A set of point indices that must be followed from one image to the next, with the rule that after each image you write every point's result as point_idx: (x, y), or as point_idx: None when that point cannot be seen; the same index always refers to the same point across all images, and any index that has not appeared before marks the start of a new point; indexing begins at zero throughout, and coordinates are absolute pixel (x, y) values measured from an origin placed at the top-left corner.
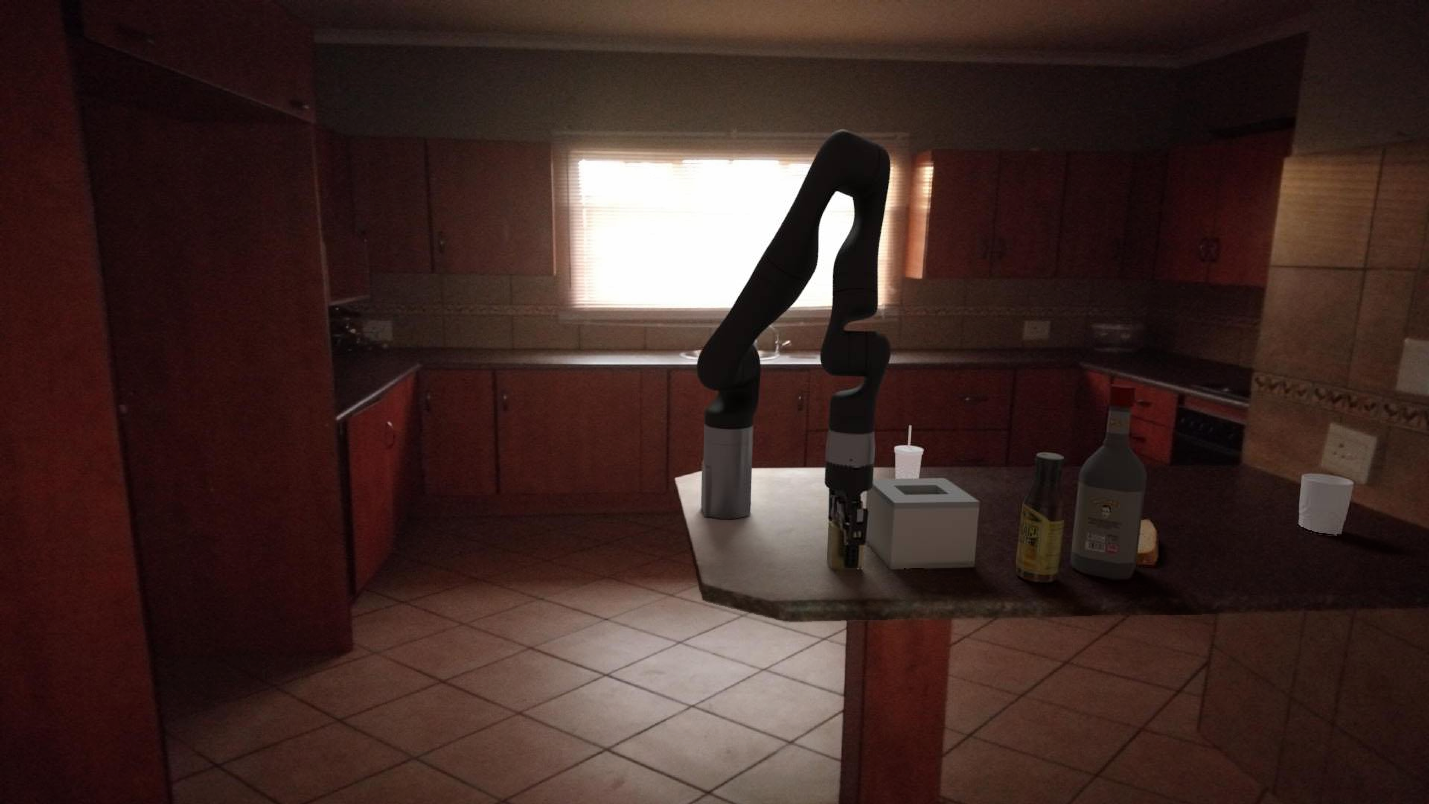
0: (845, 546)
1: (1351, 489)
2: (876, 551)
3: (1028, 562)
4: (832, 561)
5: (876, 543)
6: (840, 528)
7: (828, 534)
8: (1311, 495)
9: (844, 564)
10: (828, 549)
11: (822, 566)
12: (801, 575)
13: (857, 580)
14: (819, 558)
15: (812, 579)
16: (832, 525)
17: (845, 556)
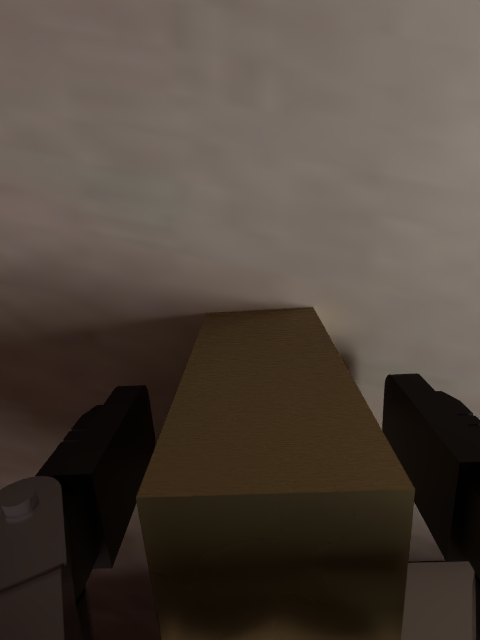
0: (65, 468)
1: None
2: (423, 572)
3: None
4: (199, 332)
5: (449, 612)
6: (49, 573)
7: (345, 395)
8: None
9: (117, 390)
10: (300, 341)
11: (261, 273)
12: (109, 108)
13: (71, 408)
14: (392, 280)
15: (52, 172)
16: (233, 504)
17: (95, 422)
